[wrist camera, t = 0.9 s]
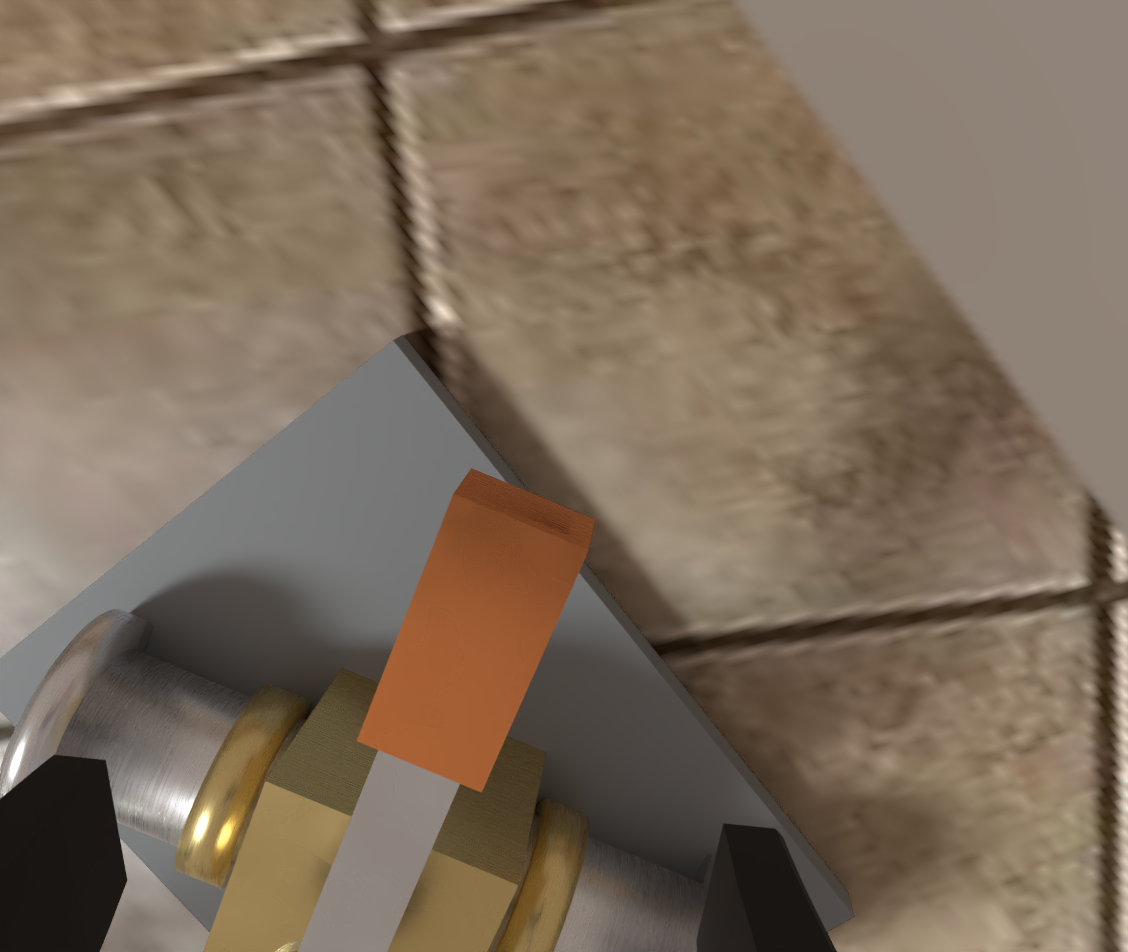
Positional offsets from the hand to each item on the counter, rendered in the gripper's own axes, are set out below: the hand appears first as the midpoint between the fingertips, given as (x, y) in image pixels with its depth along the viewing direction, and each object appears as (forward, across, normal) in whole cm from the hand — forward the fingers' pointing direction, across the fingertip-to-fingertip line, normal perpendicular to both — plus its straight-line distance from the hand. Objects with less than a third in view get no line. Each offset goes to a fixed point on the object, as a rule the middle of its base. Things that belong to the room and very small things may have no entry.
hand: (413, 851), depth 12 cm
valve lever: (+6, +1, +6) cm, 8 cm away
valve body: (+13, +2, +12) cm, 18 cm away
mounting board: (+13, +2, +12) cm, 18 cm away
